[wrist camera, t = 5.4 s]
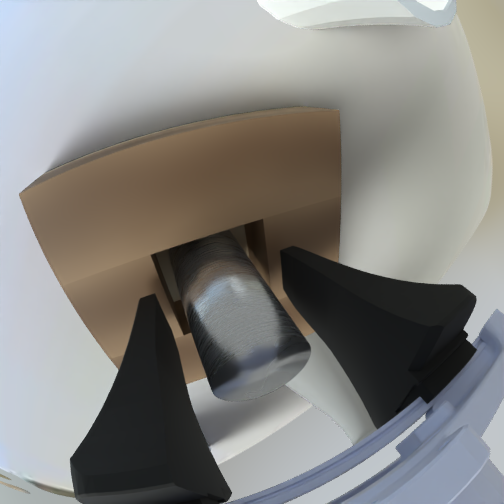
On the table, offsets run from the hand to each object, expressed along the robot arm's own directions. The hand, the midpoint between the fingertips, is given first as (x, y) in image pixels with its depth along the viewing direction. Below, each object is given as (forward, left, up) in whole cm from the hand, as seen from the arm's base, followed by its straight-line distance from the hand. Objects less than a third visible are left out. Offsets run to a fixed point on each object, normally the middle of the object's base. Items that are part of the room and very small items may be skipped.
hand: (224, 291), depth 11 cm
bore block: (0, 0, -4) cm, 4 cm away
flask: (-12, -6, -4) cm, 14 cm away
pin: (0, 0, -3) cm, 3 cm away
